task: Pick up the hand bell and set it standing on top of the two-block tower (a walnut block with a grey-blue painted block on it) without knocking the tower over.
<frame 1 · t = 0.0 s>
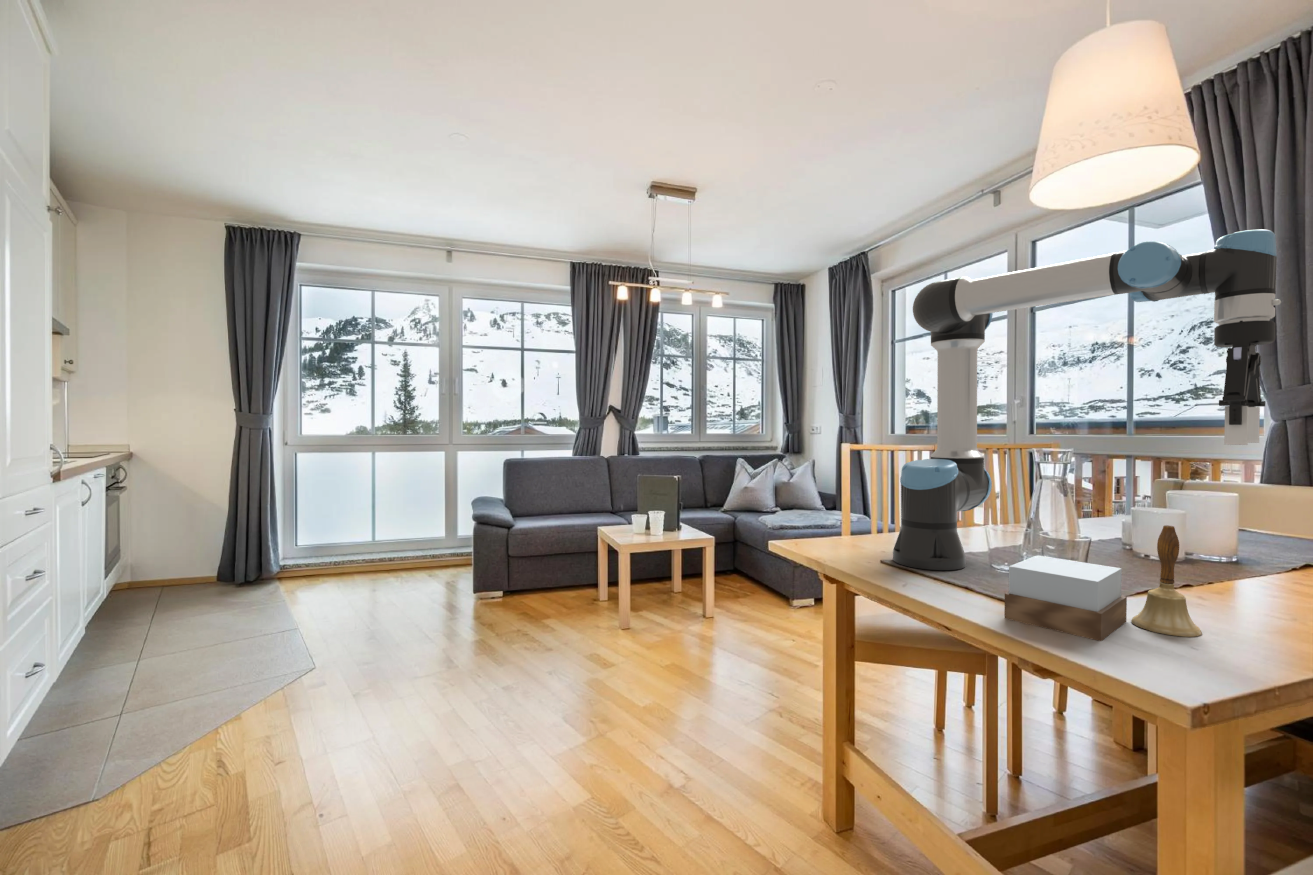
hand: (1242, 443, 102), 28 cm above the table, fingers open, 13 cm apart
hand bell: (1165, 628, 90), on the table
bottom block: (1064, 622, 94), on the table, touching top block
top block: (1064, 594, 94), point 4 cm above the table, touching bottom block
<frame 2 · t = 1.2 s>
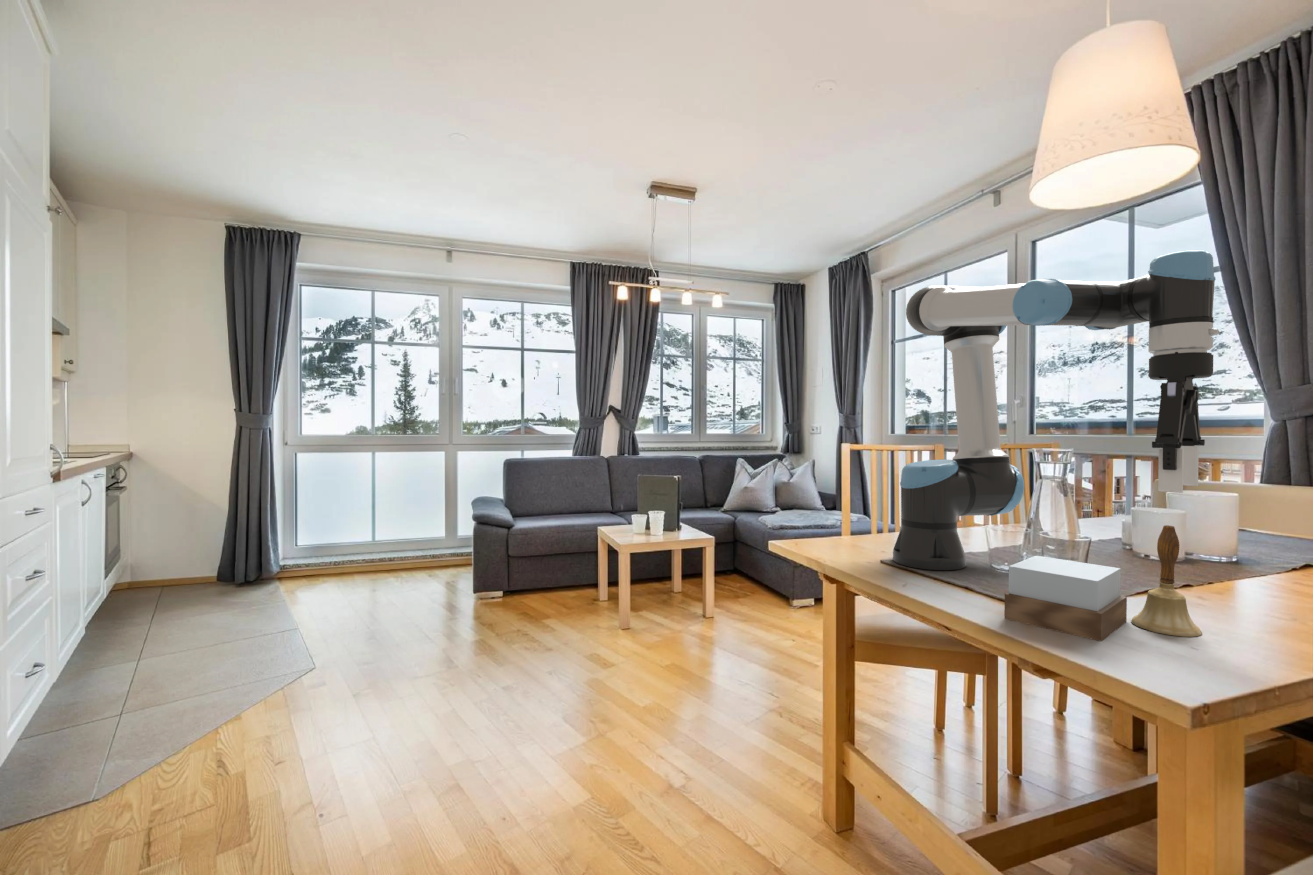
hand: (1179, 488, 91), 21 cm above the table, fingers open, 13 cm apart
nothing on the table moved.
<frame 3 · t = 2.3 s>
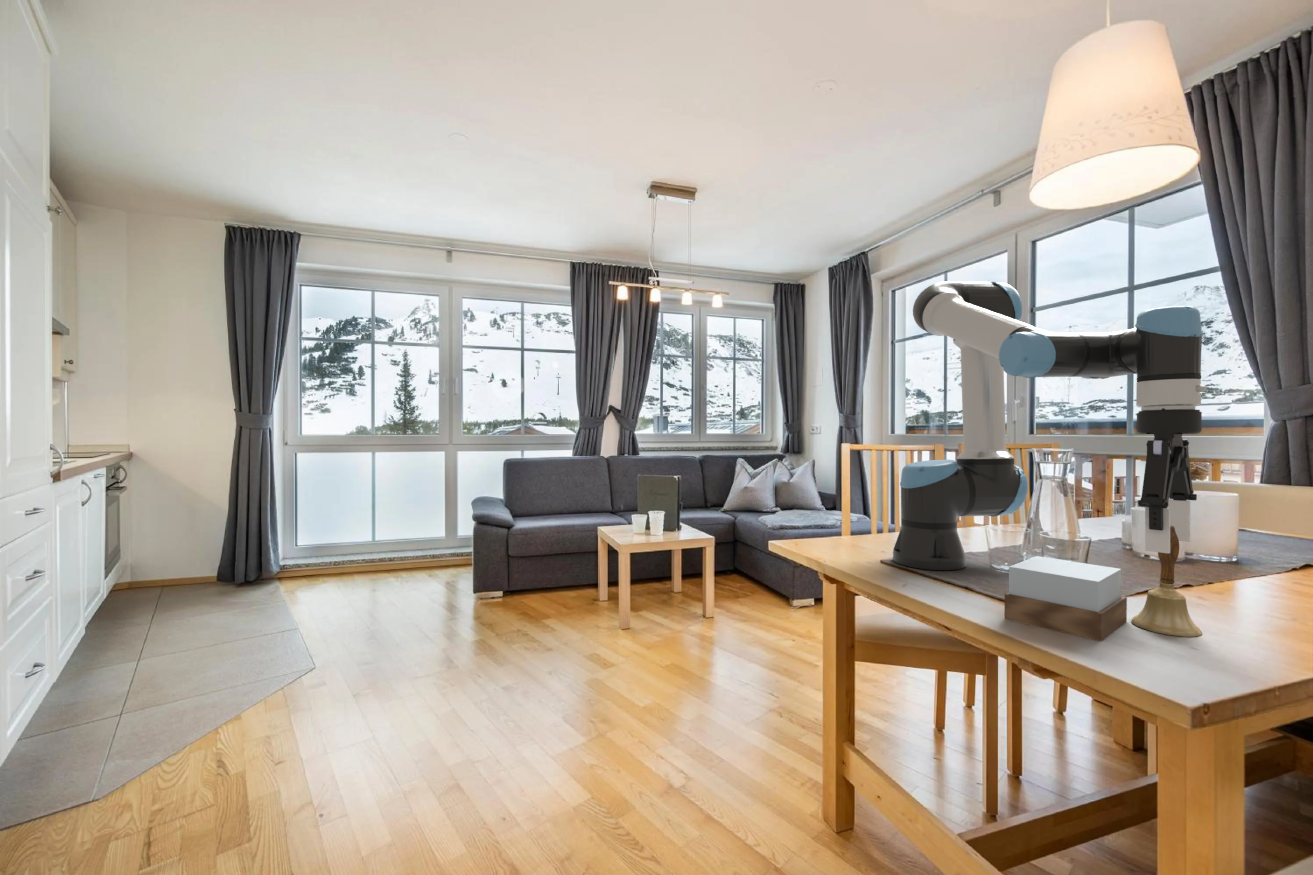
hand: (1168, 546, 90), 13 cm above the table, fingers open, 13 cm apart
nothing on the table moved.
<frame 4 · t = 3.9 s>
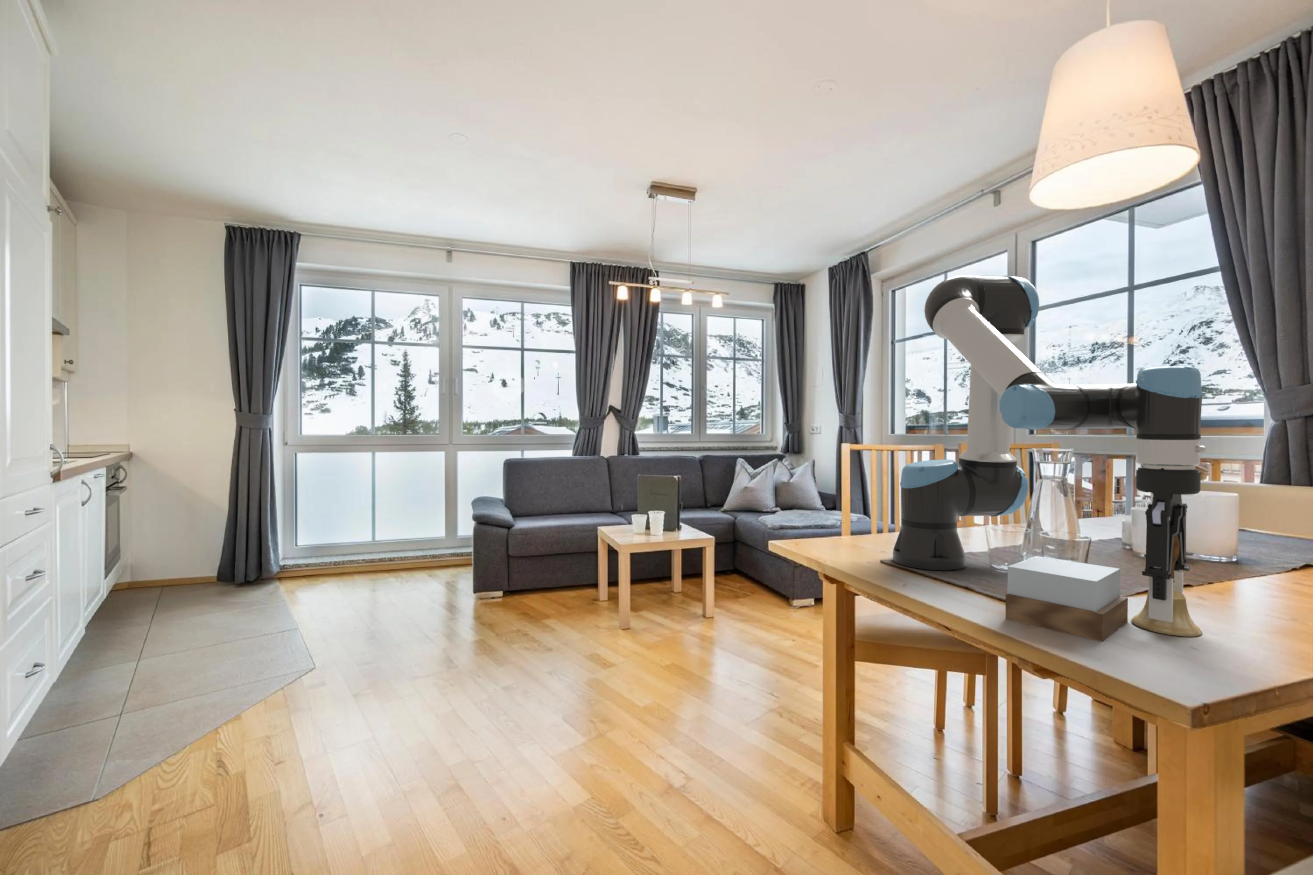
hand: (1165, 614, 90), 2 cm above the table, fingers closed on hand bell, 6 cm apart
hand bell: (1165, 628, 90), on the table, touching gripper
bottom block: (1065, 623, 94), on the table
top block: (1063, 595, 94), point 4 cm above the table
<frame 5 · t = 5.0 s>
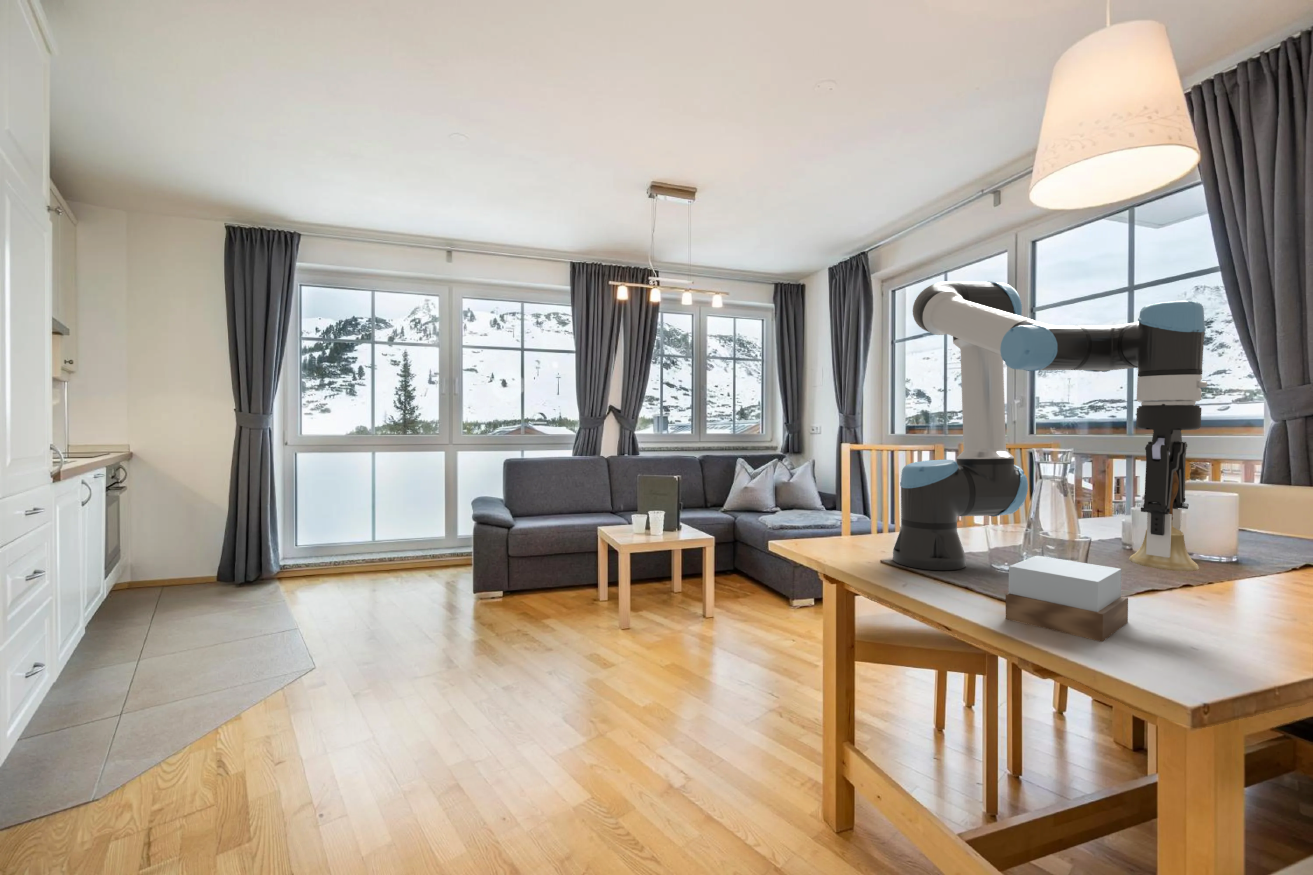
hand: (1163, 551, 91), 12 cm above the table, fingers closed on hand bell, 6 cm apart
hand bell: (1162, 565, 91), point 9 cm above the table, touching gripper
bottom block: (1065, 623, 94), on the table, touching top block
top block: (1064, 594, 94), point 4 cm above the table, touching bottom block
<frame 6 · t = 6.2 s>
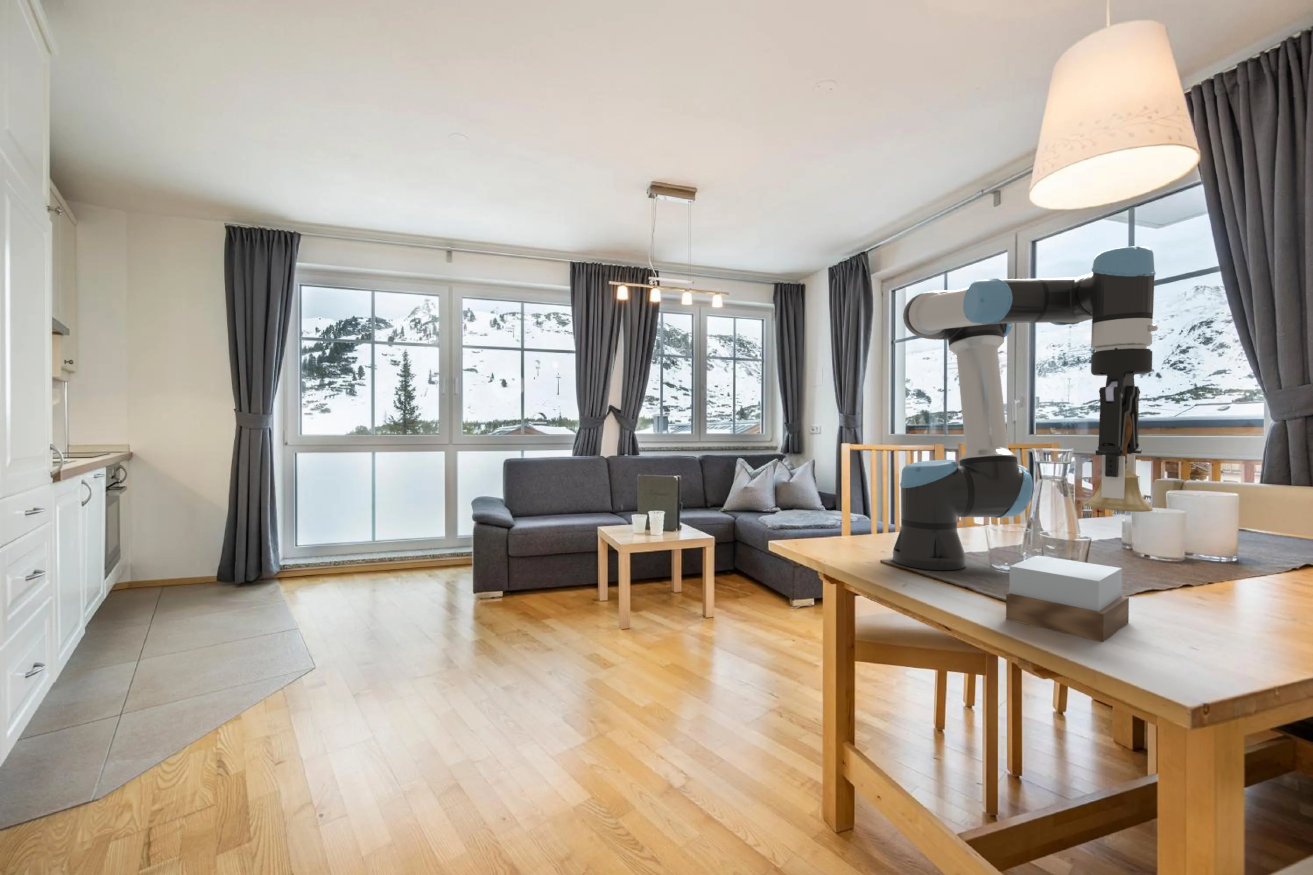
hand: (1118, 495, 92), 20 cm above the table, fingers closed on hand bell, 6 cm apart
hand bell: (1118, 508, 92), point 18 cm above the table, touching gripper
everything else where it was.
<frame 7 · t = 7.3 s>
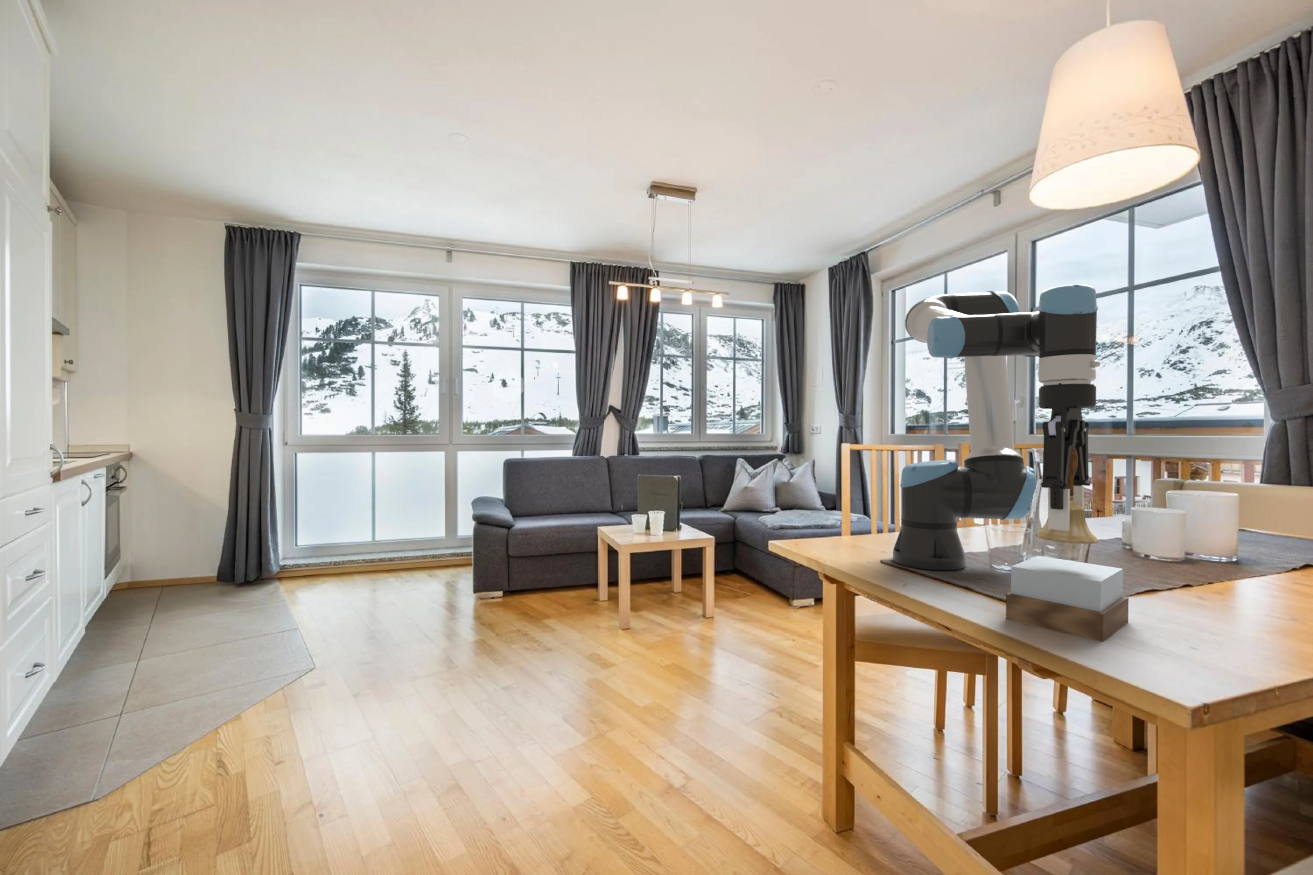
hand: (1066, 527, 94), 15 cm above the table, fingers closed on hand bell, 6 cm apart
hand bell: (1066, 540, 94), point 13 cm above the table, touching gripper
everything else where it was.
when the fingers open (12 cm above the table, at t = 8.3 s): hand bell stays where it is, resting on top block.
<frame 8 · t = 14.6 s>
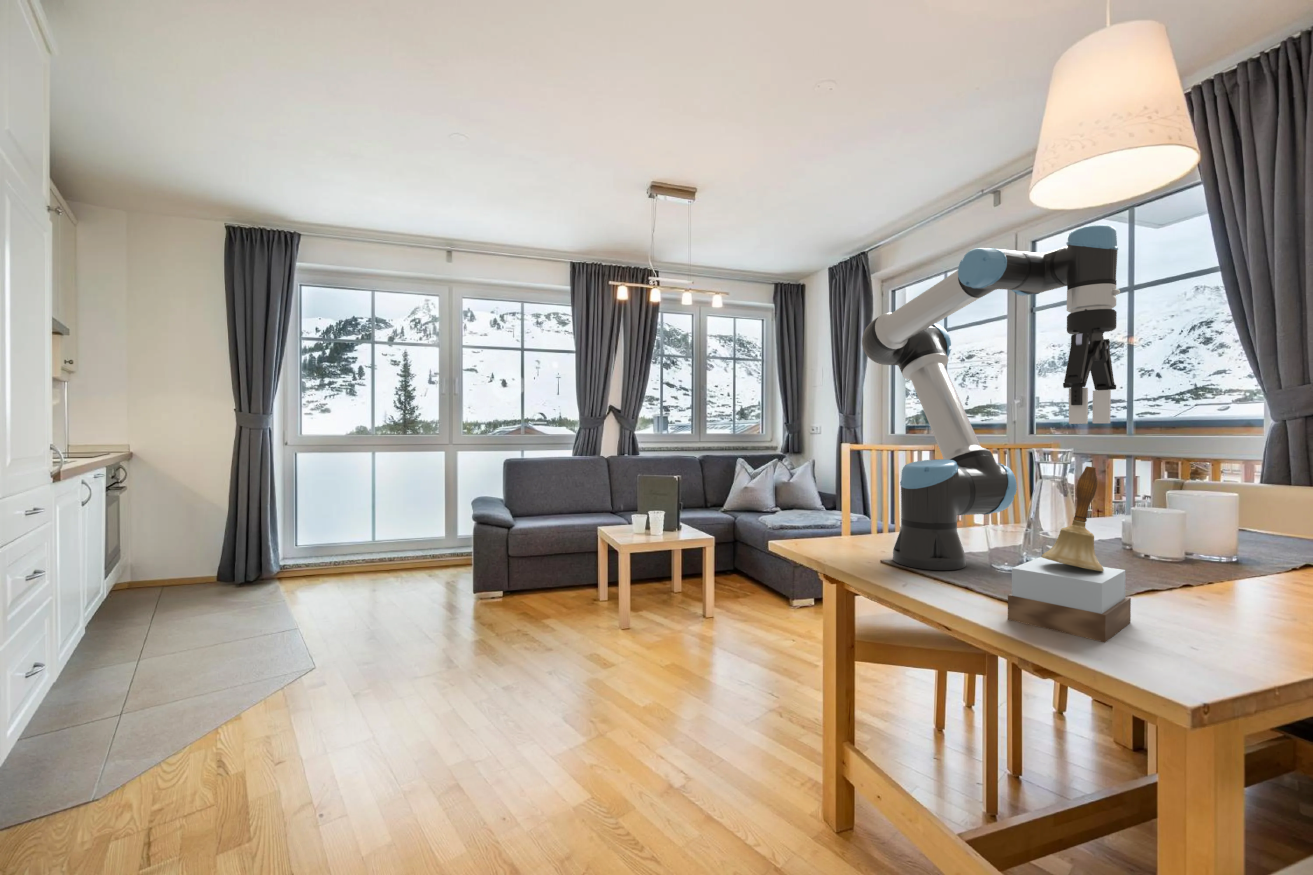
hand: (1090, 423, 110), 32 cm above the table, fingers open, 13 cm apart
hand bell: (1071, 565, 94), point 9 cm above the table, touching top block
top block: (1067, 596, 93), point 4 cm above the table, touching bottom block, hand bell
everything else where it was.
at the end: hand bell 1.1 cm from the top block (horizontally); hand bell touching top block; top block 0.3 cm off-centre on the bottom block, point 4.5 cm above the bottom block's base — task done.
